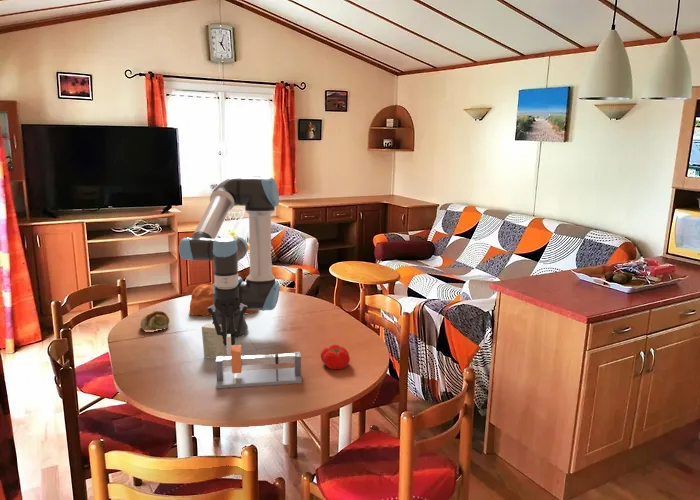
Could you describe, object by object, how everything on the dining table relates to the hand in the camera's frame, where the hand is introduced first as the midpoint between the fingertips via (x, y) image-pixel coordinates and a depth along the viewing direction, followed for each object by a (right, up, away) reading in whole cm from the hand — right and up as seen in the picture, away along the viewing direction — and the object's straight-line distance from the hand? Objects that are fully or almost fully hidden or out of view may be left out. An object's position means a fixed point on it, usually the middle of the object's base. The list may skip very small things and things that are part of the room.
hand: (229, 353), depth 181 cm
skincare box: (-11, -5, +21) cm, 24 cm away
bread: (-18, +6, +73) cm, 75 cm away
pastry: (-43, +1, +50) cm, 66 cm away
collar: (+2, -6, +2) cm, 6 cm away
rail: (+9, -9, +4) cm, 14 cm away
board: (+9, -9, +4) cm, 14 cm away
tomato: (+35, -7, +15) cm, 39 cm away
